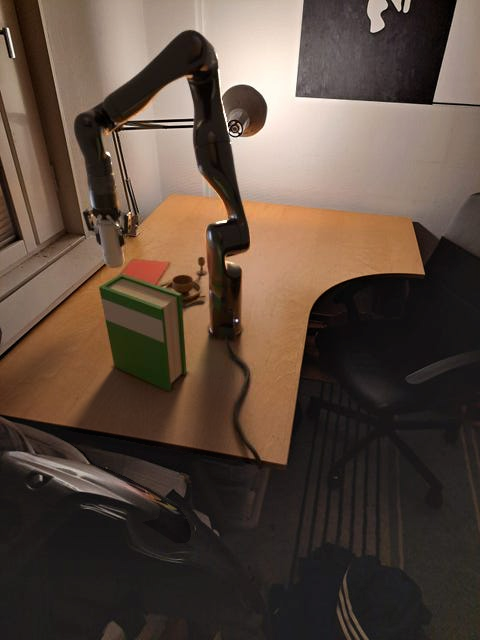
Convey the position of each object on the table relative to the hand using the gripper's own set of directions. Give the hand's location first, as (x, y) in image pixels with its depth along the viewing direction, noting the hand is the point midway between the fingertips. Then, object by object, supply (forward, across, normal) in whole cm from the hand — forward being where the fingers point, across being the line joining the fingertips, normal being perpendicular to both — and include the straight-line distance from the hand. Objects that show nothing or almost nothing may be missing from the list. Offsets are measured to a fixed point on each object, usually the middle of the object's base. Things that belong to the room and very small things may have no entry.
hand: (112, 244), depth 127 cm
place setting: (+19, +22, +9) cm, 30 cm away
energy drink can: (+7, 0, 0) cm, 7 cm away
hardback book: (+19, +21, -33) cm, 43 cm away
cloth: (+18, +2, +15) cm, 24 cm away
